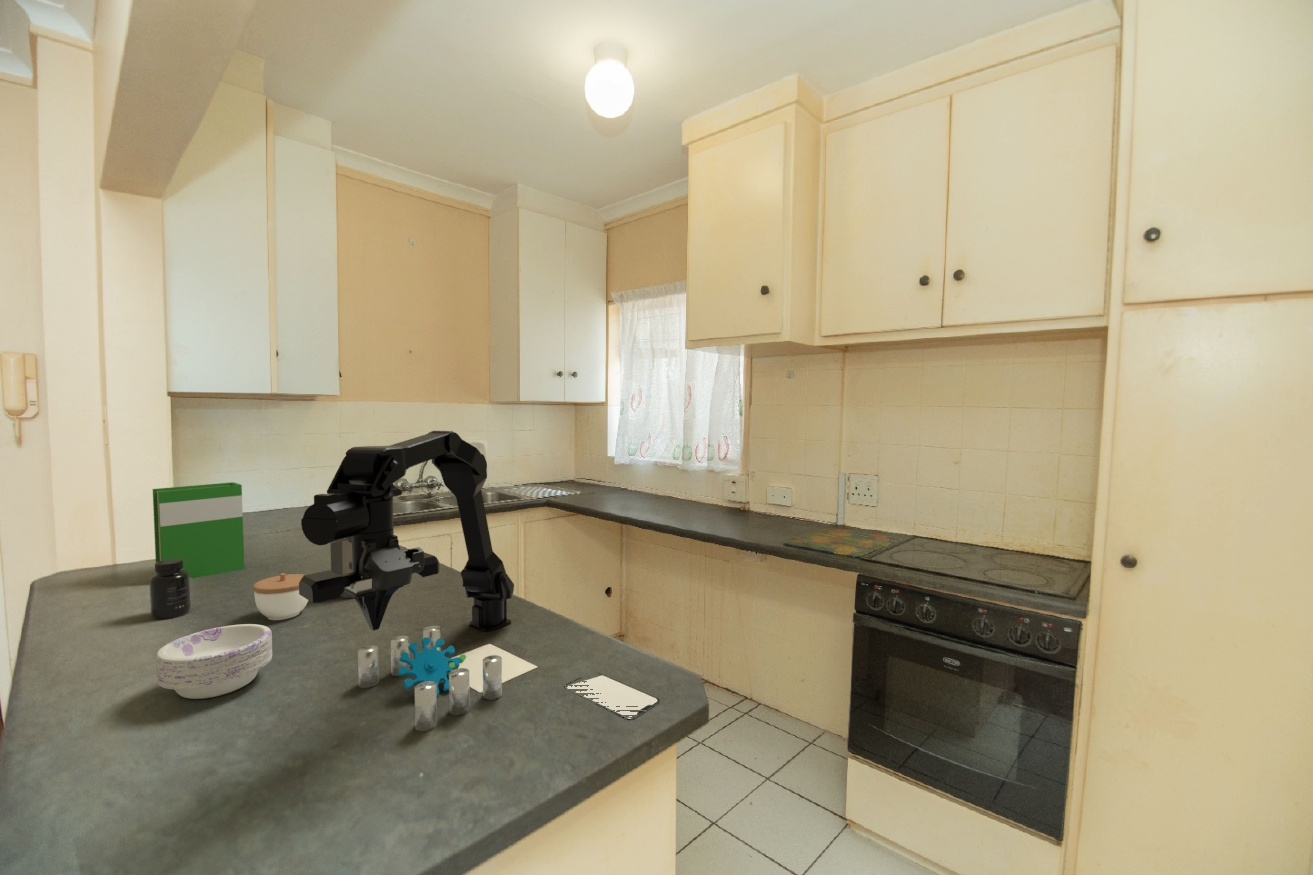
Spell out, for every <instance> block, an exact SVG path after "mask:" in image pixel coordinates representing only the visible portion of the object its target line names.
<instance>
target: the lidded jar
mask: <svg viewBox="0 0 1313 875" xmlns="http://www.w3.org/2000/svg"><path fill="white" fill-rule="evenodd" d="M304 575H305V574H304V573H292V574H291V573H290V574H289V573H288V574H286V573H284V572H283V573H280V574H279V575H275V576H270V577H267V578H264V579H261V580H259V581H257V582H255V583H254V584H253V586H252V587H253V594H254V601H255V602H254V603H255V605H256V608H257V610H258V611H259V612H260V614H262V615H263V616H264V617H266V618H267V620H269V621H283V620H287V619H292V618H294V617H297V616H298V615H300V614H301V612H302V610H304V608H306V606H307V604H308V602H310V601H309V600H308V599H306V598H304V597H303V596H301V595H299V582H300V580H301V579H302V577H303V576H304Z"/></svg>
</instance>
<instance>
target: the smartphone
mask: <svg viewBox="0 0 1313 875" xmlns="http://www.w3.org/2000/svg"><path fill="white" fill-rule="evenodd" d="M598 675H600V676H596V677H591V678H590V679H586V680H584V681H587V682H585V683H584V682H582V681H579V680H580V679H582V678H583V676H582V677H578V678H576V679H574V680H573V681H574V682H575V683H573V682H572V681H570V682H568V683H565V685H567V686H568V687H567V688H565V686H564V685H563V688H564V689H565V690H567V689H588V690H587V691H581V692H580V691H576V692H573V691H571V690H570V691H569V692H570V693H572V694H575V693H594V694H595V695H592V694H591V695H590V694H588V696H586V695H584V696H582V695H581V696H582V697H581V696H580V697H581V698H583V697H584V698H583V699H585V698H599V699H593V700H590V699H587V701H588V700H589V701H588V702H590V701H591V703H592V702H595V703H596V702H599V703H597V706H598V705H599V706H598V707H600V706H602V707H603V706H606V707H604V708H605V710H606V709H607V710H606V711H608V710H611V711H612V712H613V714H614V713H615V714H614V715H616V714H617V715H616V716H618V715H620V716H622V715H640V716H641V714H642V713H643V712H645V711H638V712H630V711H620V712H616V711H617V710H646V712H648V711H650V710H651V709H652V707H653V706H654V707H655V706H657V705H659V704H660V703H661V700H660V698H659V697H656V696H655V695H652V694H649V693H647V692H644V691H642V690H640V689H638V688H635V687H633V686H630V685H628V684H626V683H624V682H622V681H618V680H616V679H614V678H612V677H609V676H607V675H605V674H603V673H600V672H598ZM576 681H579V682H580V683H579V682H576ZM569 685H573V686H572V687H571V686H569ZM574 685H589V686H588V687H587V686H582V687H580V686H577V687H575V686H574ZM590 689H593V690H590ZM596 693H599V694H596ZM600 693H601V694H600ZM601 702H603V703H601ZM605 702H606V703H605ZM658 703H659V704H658ZM607 706H609V707H607ZM616 706H620V707H616ZM626 706H638V707H626ZM602 707H601V708H602ZM654 707H653V708H654ZM604 708H603V709H604ZM649 709H650V710H649ZM613 710H615V711H613ZM647 710H648V711H647ZM612 712H611V713H612ZM646 712H645V713H646ZM637 713H638V714H637ZM643 714H644V713H643ZM643 714H642V715H643ZM620 716H619V717H620ZM623 717H624V718H626V719H632V718H631V717H632V716H629V717H625V716H623ZM624 718H623V719H624ZM633 718H635V717H633ZM626 719H625V720H626ZM635 719H636V718H635Z"/></svg>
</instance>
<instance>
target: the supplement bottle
mask: <svg viewBox="0 0 1313 875" xmlns="http://www.w3.org/2000/svg"><path fill="white" fill-rule="evenodd" d="M183 568H184V564H183V560H182V559H168V560H163V561H159V562H156V561H155V563H154V572H155V574H154V575H152V576H151V577H150V578H149V580H148V581H149V584H148V586H149V604H150V605H149V606H150V616H151V618H152V619H154V618H155V619H154V620H169V619H168V618H170V619H174V617H175V618H178V616H179V617H181V616H184V615H186V614H188V613H189V612H190V611H191V610H192V600H191V599H192V597H191V596H192V595H191V579H190V575H189V573H188V572H187V571H184V570H183Z"/></svg>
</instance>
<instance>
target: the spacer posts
mask: <svg viewBox="0 0 1313 875" xmlns="http://www.w3.org/2000/svg"><path fill="white" fill-rule="evenodd" d="M441 630H442V628H441V626H440V625H429V626H426V627H424V628H423V629H422V635H423V636H422V639H423V638H430V639H431V641H430V643H429V645H427V646H426V647H427V649H432V648H433V647H434V646H435V643H436V641H437V639H439V638H440V639H442V637H441V636H442V634H441V632H442V631H441ZM409 645H410V636H408V635H398V636H394V637H392V638H391V639H390V672H391V674H390V675H392V676H393V677H400V676H399V675H398V671H399V669H400V667H401V666H405V667H406V668H407V669H408V670H411V666H410V665H409V664H407V663H405V662H401V661H400V660H399V659H400V658H401V656H402V655H403V654H404V653H405V652H406V653H408V654H409V658H410V650H409V649H408V647H409ZM437 650H438V651H442V647H438V648H437ZM357 665H358V667H357V668H358V670H357V672H358V674H357V675H358V687H359V688H361V689H369V688H373V687H375V686H377V685H378V684H379V647H378V646H376V645H365V646H362V647H360V648H358V650H357ZM448 680H449V690H448V702H449V703H448V708H449V710H448V711H449V714H451V715H452V716H461V715H462V716H463V715H464V714H466V713H468V712H469V711H470V709H471V706H470V704H471V702H470V701H471V700H470V698H471V697H470V691H471V690H470V687H469V670H468V669H466V668H458V669H454V670H452V671H451V672H450V673H449V675H448ZM502 688H503V683H502V657H501V656H498V655H491V656H487V657H485V658H484V659H483V692H482V698H484V699H485V700H487V701H488V700H496V698H497V699H499V698H500V697H501V696H503V689H502ZM437 698H438V696H437V687H436V683H435V682H433V681H426V682H420V683H416V685H415V686H414V729H415V731H419V732H426V731H430V730H432V729H434V728H435V727H437V724H438V714H437V713H438V709H437V704H438V703H437V700H438V699H437Z"/></svg>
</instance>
